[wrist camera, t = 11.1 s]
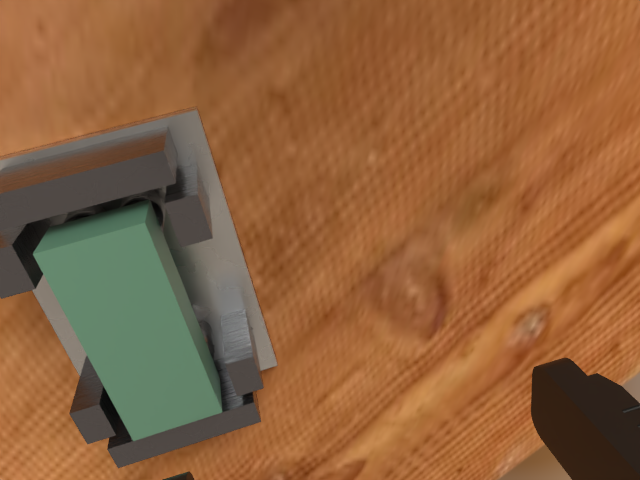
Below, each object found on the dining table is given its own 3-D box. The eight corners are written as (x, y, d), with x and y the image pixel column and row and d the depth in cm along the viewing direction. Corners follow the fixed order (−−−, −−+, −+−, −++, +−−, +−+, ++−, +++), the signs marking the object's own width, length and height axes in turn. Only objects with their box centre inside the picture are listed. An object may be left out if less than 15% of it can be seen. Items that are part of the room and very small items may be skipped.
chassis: (-28, 163, 27) (-80, 204, 22) (196, 106, 29) (198, 132, 23) (106, 409, 36) (91, 482, 30) (275, 356, 37) (289, 417, 32)
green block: (48, 227, 26) (32, 254, 23) (149, 199, 26) (145, 222, 24) (138, 403, 31) (133, 441, 29) (219, 377, 32) (222, 412, 29)
